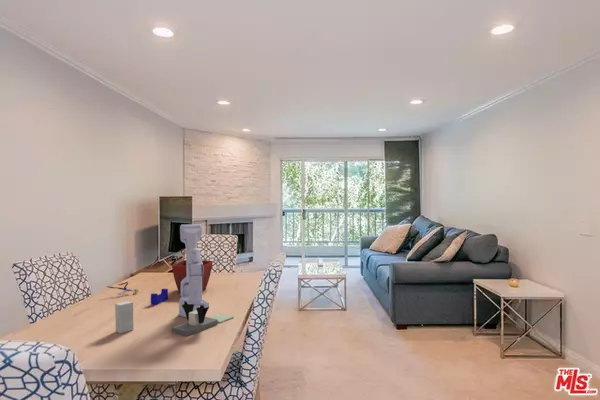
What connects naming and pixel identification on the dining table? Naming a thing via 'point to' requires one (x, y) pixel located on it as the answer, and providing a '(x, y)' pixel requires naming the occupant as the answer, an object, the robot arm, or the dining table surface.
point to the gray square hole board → (194, 327)
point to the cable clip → (159, 297)
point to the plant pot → (180, 273)
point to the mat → (221, 317)
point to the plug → (193, 318)
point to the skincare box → (124, 316)
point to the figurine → (125, 289)
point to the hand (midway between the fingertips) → (195, 321)
